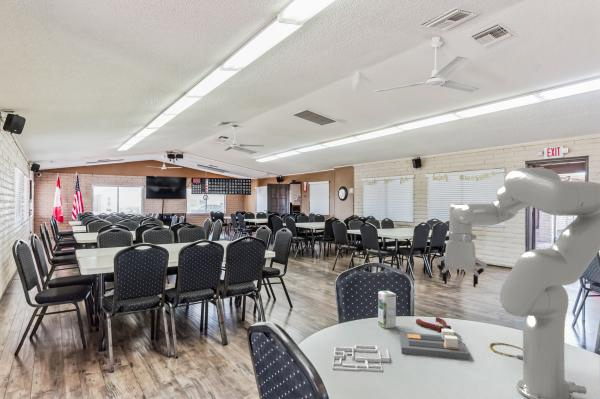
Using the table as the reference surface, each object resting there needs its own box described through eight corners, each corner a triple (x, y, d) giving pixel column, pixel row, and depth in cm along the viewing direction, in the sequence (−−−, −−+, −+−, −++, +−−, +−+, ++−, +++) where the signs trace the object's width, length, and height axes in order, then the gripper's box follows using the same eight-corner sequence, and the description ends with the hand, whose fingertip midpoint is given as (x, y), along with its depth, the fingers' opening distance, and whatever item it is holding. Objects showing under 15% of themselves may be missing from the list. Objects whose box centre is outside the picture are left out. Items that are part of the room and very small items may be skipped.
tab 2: (456, 344, 127) (456, 336, 128) (457, 347, 125) (457, 339, 125) (444, 343, 128) (444, 335, 128) (445, 346, 125) (445, 338, 126)
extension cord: (511, 364, 118) (511, 358, 118) (482, 346, 134) (482, 340, 134) (545, 363, 120) (545, 357, 120) (513, 344, 135) (513, 339, 135)
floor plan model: (383, 343, 136) (383, 338, 136) (392, 374, 111) (392, 368, 111) (334, 341, 139) (334, 336, 139) (332, 371, 114) (332, 365, 114)
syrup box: (377, 324, 156) (377, 291, 157) (389, 323, 158) (389, 290, 158) (384, 328, 151) (384, 294, 151) (396, 327, 153) (396, 293, 153)
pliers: (444, 341, 138) (444, 334, 138) (414, 324, 158) (414, 317, 159) (471, 339, 141) (471, 332, 141) (438, 322, 161) (438, 316, 161)
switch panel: (459, 342, 136) (459, 335, 136) (469, 359, 121) (469, 352, 121) (399, 336, 142) (399, 331, 142) (401, 353, 126) (401, 346, 126)
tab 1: (452, 337, 134) (452, 329, 134) (454, 340, 131) (454, 332, 131) (441, 336, 135) (441, 328, 135) (442, 339, 132) (442, 331, 132)
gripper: (486, 238, 130) (486, 285, 130) (435, 235, 137) (435, 280, 137) (487, 240, 123) (487, 290, 123) (434, 237, 130) (433, 284, 131)
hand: (459, 284), depth 130 cm, fingers open, 9 cm apart
